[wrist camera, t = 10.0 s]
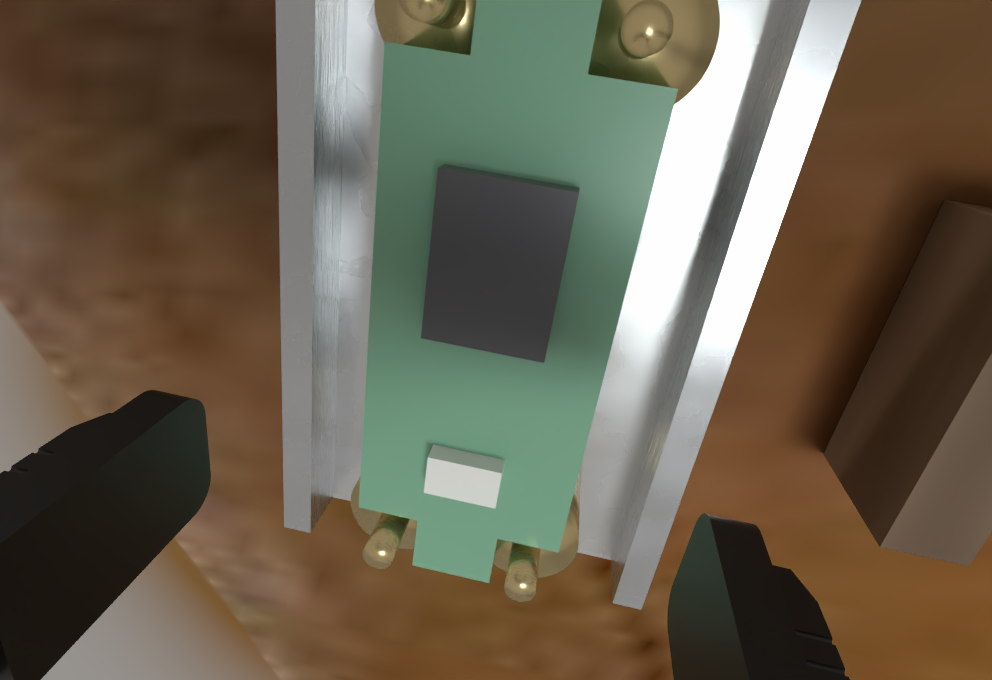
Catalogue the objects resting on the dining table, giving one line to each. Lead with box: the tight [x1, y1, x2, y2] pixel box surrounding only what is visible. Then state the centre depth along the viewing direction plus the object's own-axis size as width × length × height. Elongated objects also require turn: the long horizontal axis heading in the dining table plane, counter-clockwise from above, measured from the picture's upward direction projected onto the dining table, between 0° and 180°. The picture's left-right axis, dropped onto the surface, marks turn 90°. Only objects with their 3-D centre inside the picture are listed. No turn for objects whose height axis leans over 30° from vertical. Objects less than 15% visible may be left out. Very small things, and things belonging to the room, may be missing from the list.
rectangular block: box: [824, 200, 992, 566], centre depth 16 cm, size 2×9×4 cm, turn 172°
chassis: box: [276, 0, 861, 609], centre depth 17 cm, size 13×20×6 cm, turn 172°
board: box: [359, 0, 678, 583], centre depth 15 cm, size 6×16×2 cm, turn 172°
